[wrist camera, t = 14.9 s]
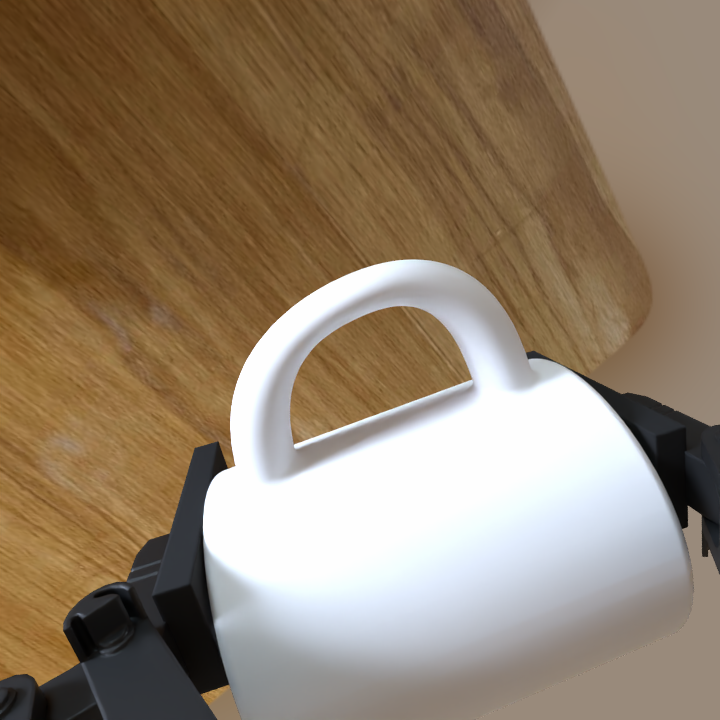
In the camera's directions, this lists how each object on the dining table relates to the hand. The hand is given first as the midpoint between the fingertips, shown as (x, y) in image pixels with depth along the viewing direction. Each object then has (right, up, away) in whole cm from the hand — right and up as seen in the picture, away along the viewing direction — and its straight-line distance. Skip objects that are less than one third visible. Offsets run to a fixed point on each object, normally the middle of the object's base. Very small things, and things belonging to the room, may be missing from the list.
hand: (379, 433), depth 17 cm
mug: (0, 0, +1) cm, 1 cm away
